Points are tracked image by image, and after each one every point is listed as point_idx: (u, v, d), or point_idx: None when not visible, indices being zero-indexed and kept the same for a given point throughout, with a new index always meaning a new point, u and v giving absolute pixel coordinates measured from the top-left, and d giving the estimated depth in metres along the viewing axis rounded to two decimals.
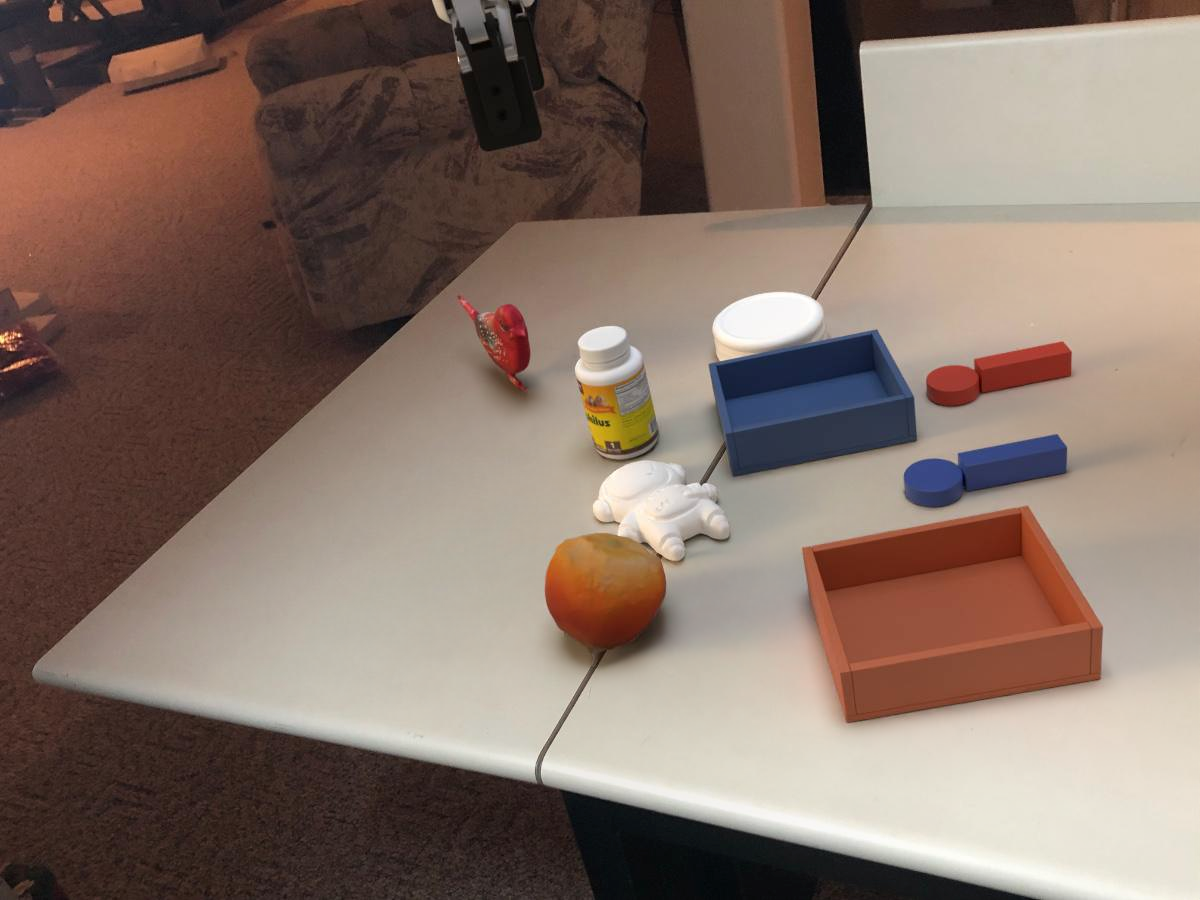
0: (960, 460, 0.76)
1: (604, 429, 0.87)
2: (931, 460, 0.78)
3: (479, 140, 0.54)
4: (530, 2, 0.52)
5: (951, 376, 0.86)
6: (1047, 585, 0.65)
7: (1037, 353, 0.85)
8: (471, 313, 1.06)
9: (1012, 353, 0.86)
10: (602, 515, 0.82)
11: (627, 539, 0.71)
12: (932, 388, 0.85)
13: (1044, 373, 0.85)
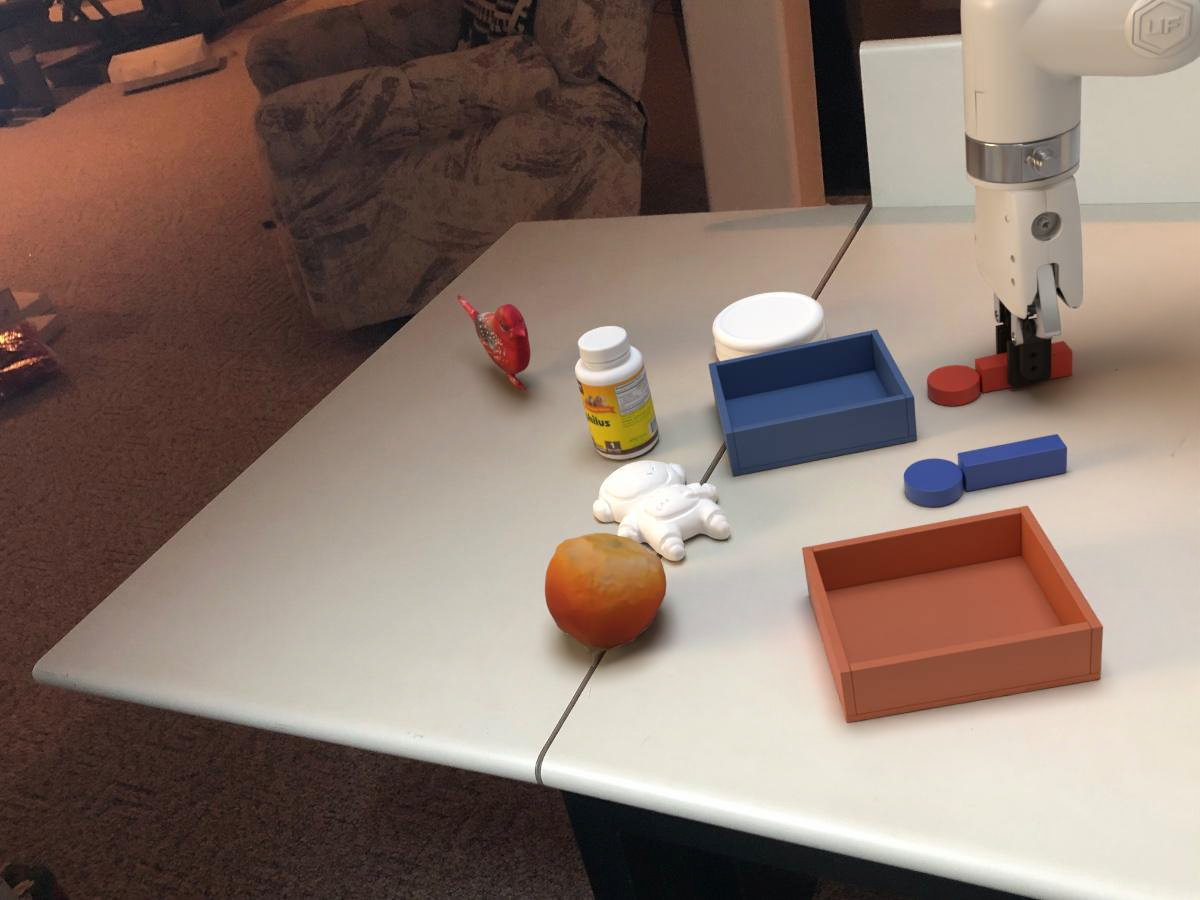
0: (960, 460, 0.76)
1: (604, 429, 0.87)
2: (931, 460, 0.78)
3: (1010, 380, 0.84)
4: None
5: (952, 376, 0.86)
6: (1047, 585, 0.65)
7: None
8: (471, 313, 1.06)
9: None
10: (602, 515, 0.82)
11: (627, 539, 0.71)
12: (933, 388, 0.85)
13: None
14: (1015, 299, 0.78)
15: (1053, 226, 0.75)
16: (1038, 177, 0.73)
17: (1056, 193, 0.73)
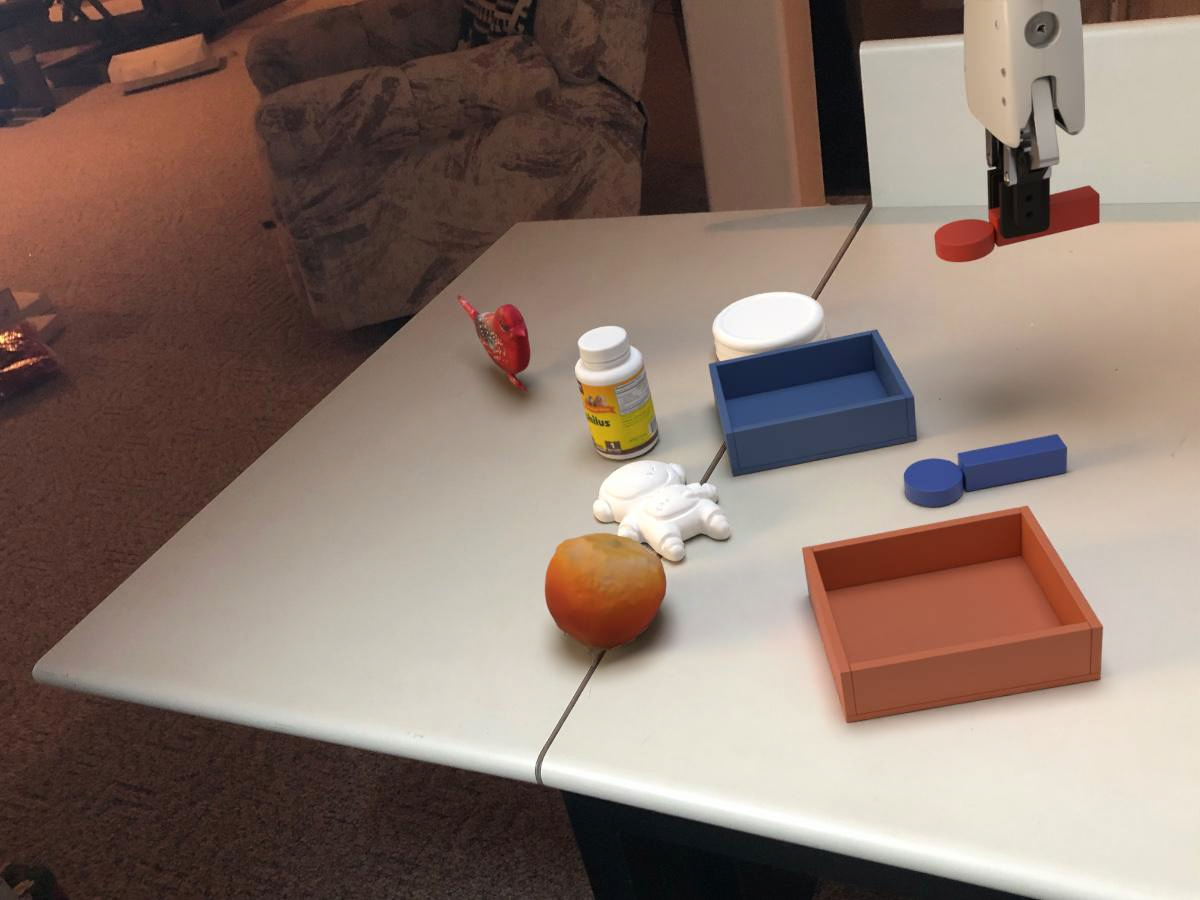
0: (960, 460, 0.76)
1: (604, 429, 0.87)
2: (931, 460, 0.78)
3: (1003, 231, 0.75)
4: (1079, 132, 0.68)
5: (962, 230, 0.76)
6: (1047, 585, 0.65)
7: (1060, 198, 0.75)
8: (471, 313, 1.06)
9: None
10: (602, 515, 0.82)
11: (627, 539, 0.71)
12: (941, 243, 0.76)
13: (1069, 221, 0.75)
14: (1006, 123, 0.68)
15: (1050, 33, 0.65)
16: None
17: None
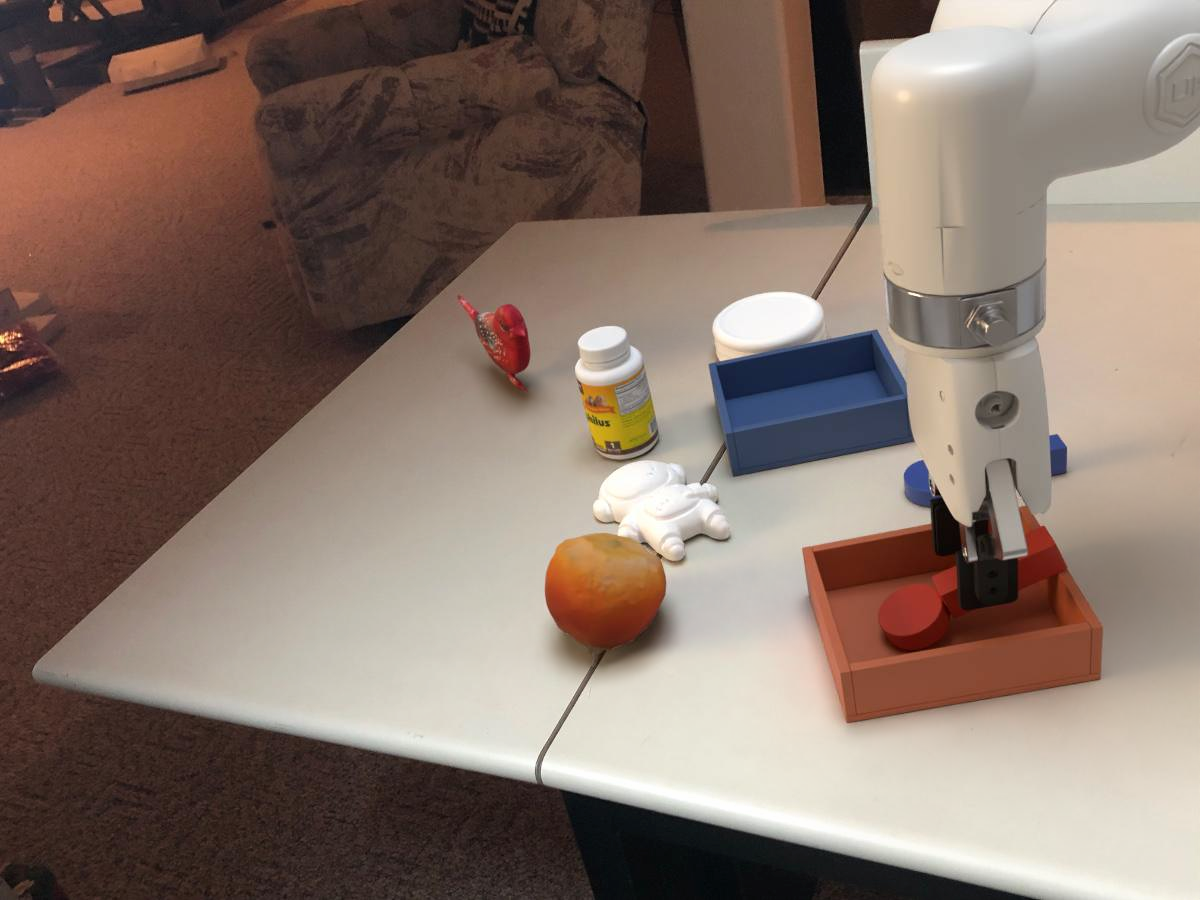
0: None
1: (604, 429, 0.87)
2: None
3: (961, 602, 0.61)
4: None
5: (908, 607, 0.65)
6: (1047, 585, 0.65)
7: None
8: (471, 313, 1.06)
9: None
10: (602, 515, 0.82)
11: (627, 539, 0.71)
12: (885, 632, 0.64)
13: (1029, 577, 0.62)
14: (956, 502, 0.55)
15: (1008, 406, 0.53)
16: (984, 342, 0.51)
17: (1011, 365, 0.51)
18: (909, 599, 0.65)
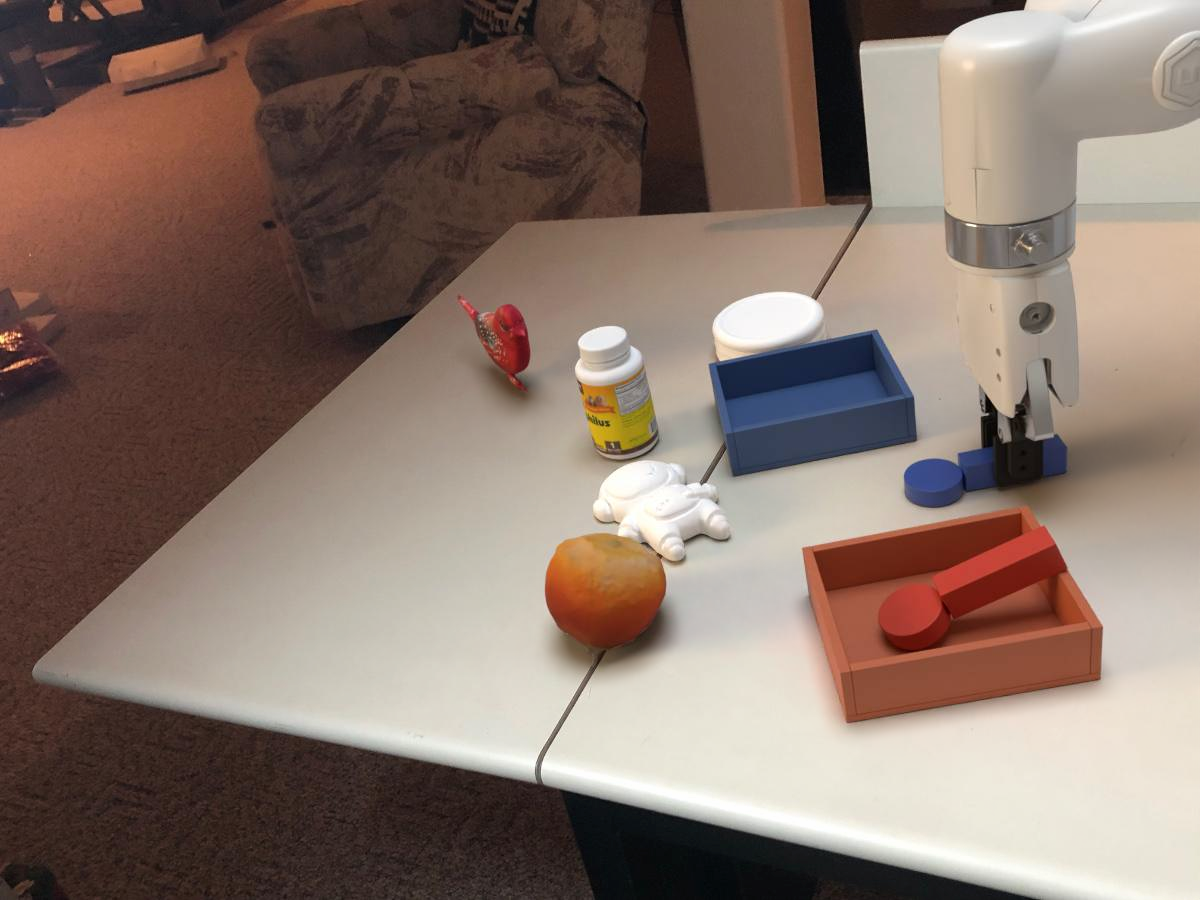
0: (960, 460, 0.76)
1: (604, 429, 0.87)
2: (931, 460, 0.78)
3: (997, 479, 0.75)
4: None
5: (908, 607, 0.65)
6: (1047, 585, 0.65)
7: (1011, 554, 0.62)
8: (471, 313, 1.06)
9: (979, 559, 0.63)
10: (602, 515, 0.82)
11: (627, 539, 0.71)
12: (885, 632, 0.64)
13: (1029, 577, 0.62)
14: (1001, 396, 0.68)
15: (1045, 316, 0.66)
16: (1027, 263, 0.64)
17: (1048, 281, 0.64)
18: (909, 599, 0.65)
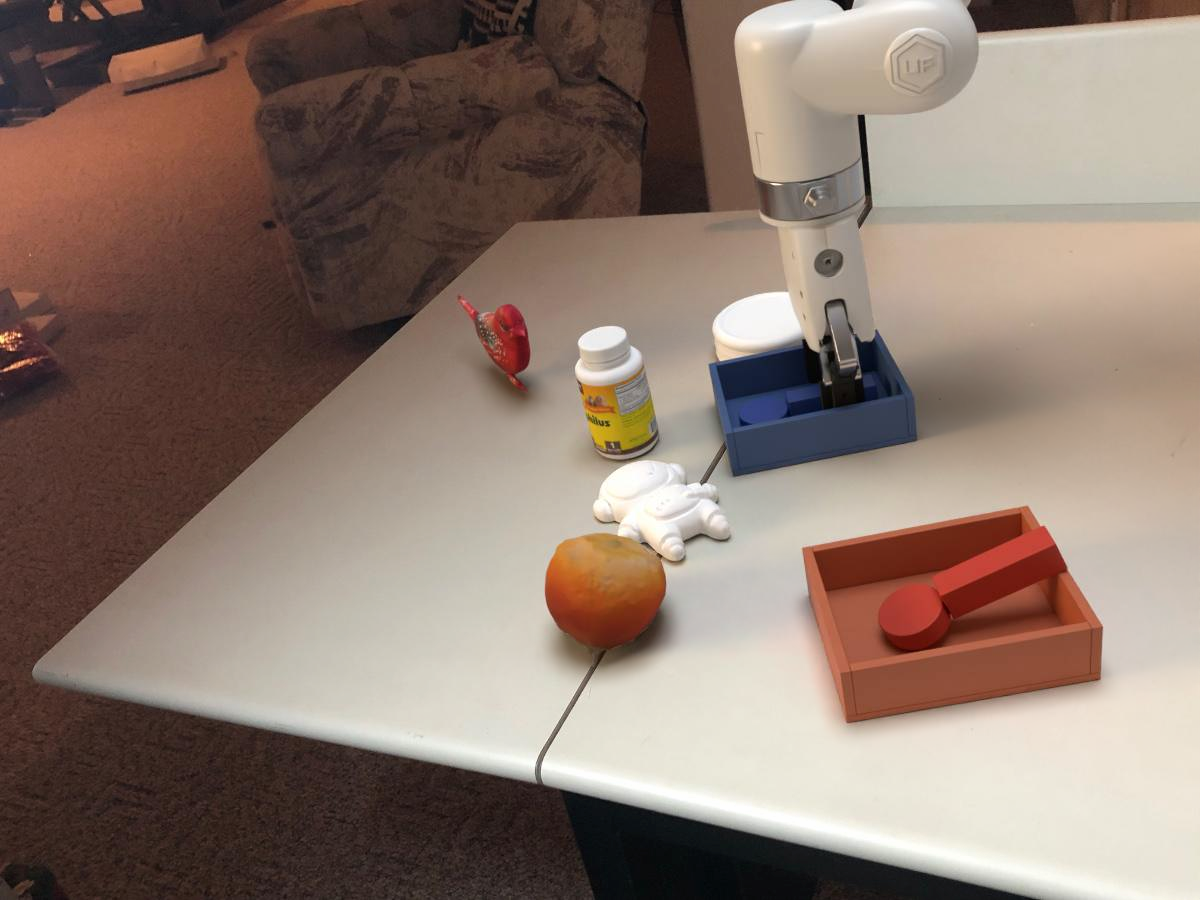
0: (786, 397, 0.87)
1: (604, 429, 0.87)
2: (764, 398, 0.88)
3: None
4: None
5: (908, 607, 0.65)
6: (1047, 585, 0.65)
7: (1011, 554, 0.62)
8: (471, 313, 1.06)
9: (979, 559, 0.63)
10: (602, 515, 0.82)
11: (627, 539, 0.71)
12: (885, 632, 0.64)
13: (1029, 577, 0.62)
14: (808, 333, 0.79)
15: (839, 262, 0.76)
16: (818, 215, 0.74)
17: (835, 230, 0.74)
18: (909, 599, 0.65)
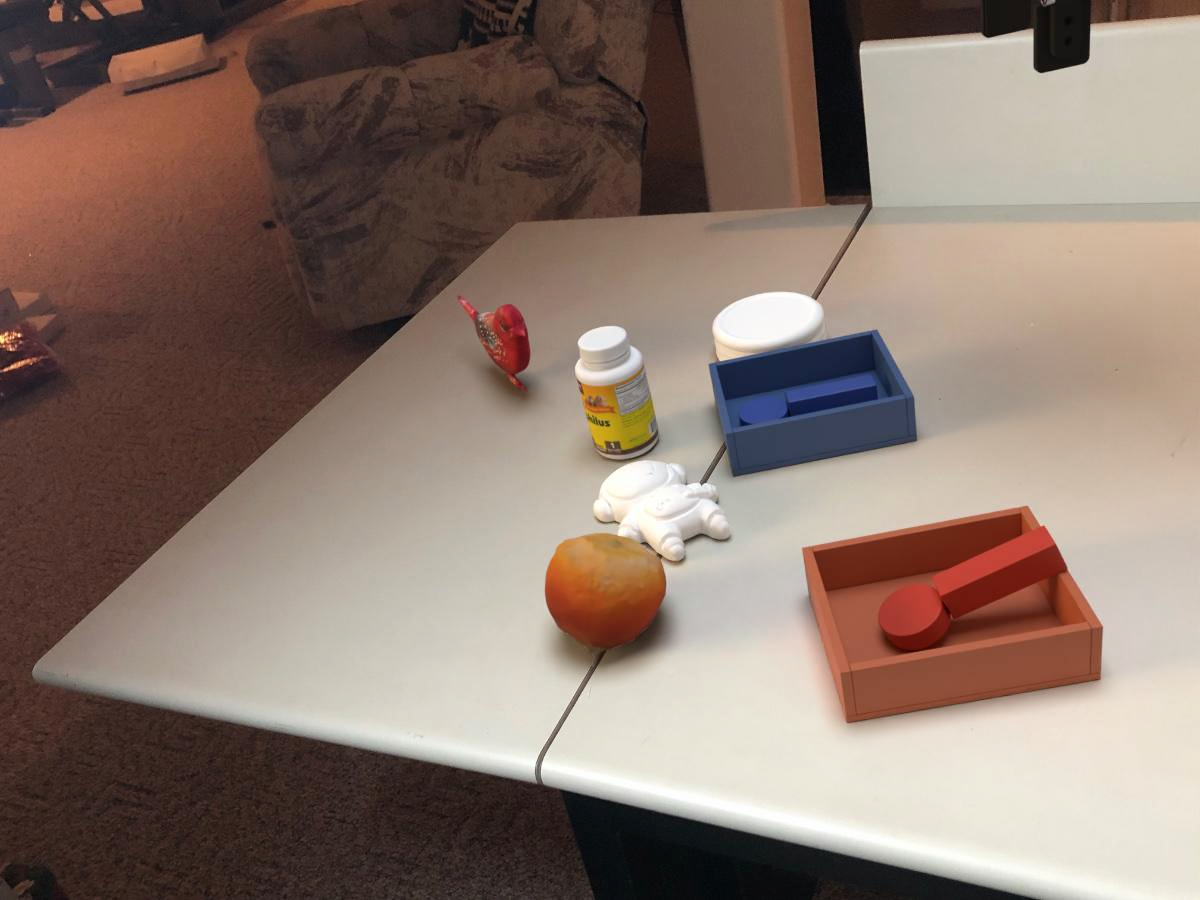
0: (786, 397, 0.87)
1: (604, 429, 0.87)
2: (764, 398, 0.88)
3: (1037, 63, 0.66)
4: None
5: (908, 607, 0.65)
6: (1047, 585, 0.65)
7: (1011, 554, 0.62)
8: (471, 313, 1.06)
9: (979, 559, 0.63)
10: (602, 515, 0.82)
11: (627, 539, 0.71)
12: (885, 632, 0.64)
13: (1029, 577, 0.62)
14: None
15: None
16: None
17: None
18: (909, 599, 0.65)
